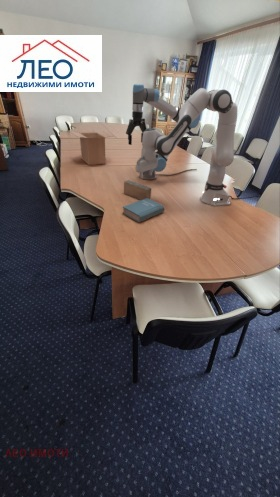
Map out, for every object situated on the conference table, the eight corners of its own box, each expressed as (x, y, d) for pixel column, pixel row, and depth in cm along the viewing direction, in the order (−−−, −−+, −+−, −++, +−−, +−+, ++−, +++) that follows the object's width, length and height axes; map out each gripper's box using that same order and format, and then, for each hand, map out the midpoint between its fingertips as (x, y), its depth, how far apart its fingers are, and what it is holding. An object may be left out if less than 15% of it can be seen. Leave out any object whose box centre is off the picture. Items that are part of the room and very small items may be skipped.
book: (146, 204, 158) (147, 197, 155) (163, 212, 149) (164, 206, 146) (122, 213, 145) (122, 206, 142) (139, 223, 136) (140, 216, 133)
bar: (123, 193, 172) (123, 181, 167) (128, 191, 176) (128, 179, 170) (146, 202, 162) (147, 189, 156) (150, 200, 165) (151, 188, 159)
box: (116, 165, 229) (116, 136, 213) (83, 168, 214) (80, 137, 198) (102, 154, 259) (101, 128, 243) (71, 156, 244) (68, 129, 228)
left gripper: (128, 112, 148) (127, 146, 160) (153, 111, 162) (150, 142, 175) (120, 111, 152) (121, 144, 164) (145, 110, 166) (144, 140, 179)
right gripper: (141, 159, 138) (140, 181, 146) (160, 154, 151) (158, 174, 160) (134, 157, 141) (133, 178, 149) (152, 152, 154) (151, 172, 163)
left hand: (136, 143), depth 170 cm, fingers open, 13 cm apart
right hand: (146, 176), depth 155 cm, fingers open, 8 cm apart
